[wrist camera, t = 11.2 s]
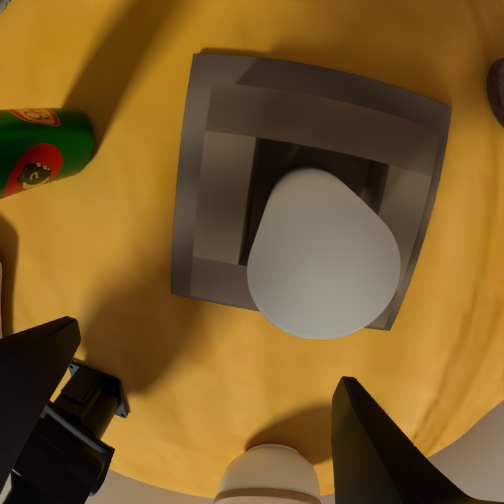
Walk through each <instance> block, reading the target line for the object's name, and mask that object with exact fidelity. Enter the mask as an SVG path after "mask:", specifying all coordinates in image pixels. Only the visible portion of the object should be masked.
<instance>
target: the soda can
mask: <svg viewBox="0 0 504 504" xmlns="http://www.w3.org/2000/svg"><path fill="white" fill-rule="evenodd" d="M93 145H94V134H93V129H92V125H91V123H90V121H89V119H88V117H87V116H86V115H85V114H84V113H83V112H82V111H80V110H78V109H75V108H25V109H5V110H0V199H2V198H5V197H8V196H11V195H13V194H16V193H19V192H22V191H25V190H28V189H31V188H34V187H37V186H40V185H43V184H47V183H50V182H53V181H57V180H60V179H63V178H67V177H70V176H74V175H76V174H78V173H79V172H81V171H82V170H83V169H84V168H85V166H86V165H87V163H88V161H89V159H90V157H91V154H92V151H93Z"/></svg>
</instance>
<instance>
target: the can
mask: <svg viewBox="0 0 504 504" xmlns="http://www.w3.org/2000/svg"><path fill="white" fill-rule="evenodd" d="M487 92H488V97H489V102H490V105H491V108H492V110H493V113H494V114H495V116H496V118H497V120H498V121H499V123H500V124H501V125H502V126H503V128H504V58H502V59H498V60H497V61H496V62H495V63H494V64H493V65H492V67H491V69H490V72H489V75H488V81H487Z"/></svg>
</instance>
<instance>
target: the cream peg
mask: <svg viewBox="0 0 504 504" xmlns="http://www.w3.org/2000/svg"><path fill="white" fill-rule="evenodd" d="M399 277H400V254H399V250H398V246H397V243H396V241H395V238H394V236H393V234H392V232H391V231H390V229H389V228H388V226H387V225H386V224H385V223H384V222H383V221H382V219H381V218H380V217H379V216H378V215H377V214H376V213H375V212H374V211H373V210H372V209H370V208H369V207H368V206H367V205H366V204H365V203H364V202H363V201H362V200H361V199H360V198H359V197H358V196H357V195H356V194H355V193H354V192H353V191H352V190H350V189H349V188H348V187H347V186H346V185H345V184H344V183H343V182H342V181H341V180H340V179H338V178H337V177H336V176H335V175H334V174H333V173H332V172H330V171H329V170H328V169H326V168H324V167H322V166H319V165H315V164H299V165H296V166H293V167H291V168H289V169H287V170H286V171H284V172H283V173H282V174H281V175H280V176H279V177H278V178H277V180H276V181H275V183H274V185H273V188H272V190H271V193H270V196H269V199H268V202H267V205H266V208H265V211H264V214H263V217H262V219H261V222H260V225H259V228H258V231H257V234H256V237H255V240H254V243H253V246H252V249H251V251H250V255H249V259H248V265H247V280H248V286H249V290H250V293H251V296H252V299H253V301H254V302H255V304H256V306H257V308H258V309H259V310H260V312H261V313H262V314H263V316H264V317H265V318H266V319H267V320H268V321H270V322H271V323H272V324H273V325H275V326H276V327H278V328H279V329H281V330H282V331H284V332H287V333H289V334H291V335H294V336H297V337H301V338H305V339H313V340H328V339H336V338H340V337H344V336H347V335H350V334H352V333H355V332H357V331H359V330H361V329H362V328H364V327H366V326H367V325H369V324H370V323H371V322H372V321H374V320H375V319H376V318H377V317H378V316H379V315H380V314H381V313H382V312H383V311H384V309H385V308H386V307H387V306H388V304H389V303H390V301H391V299H392V297H393V295H394V293H395V291H396V288H397V285H398V282H399Z"/></svg>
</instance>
